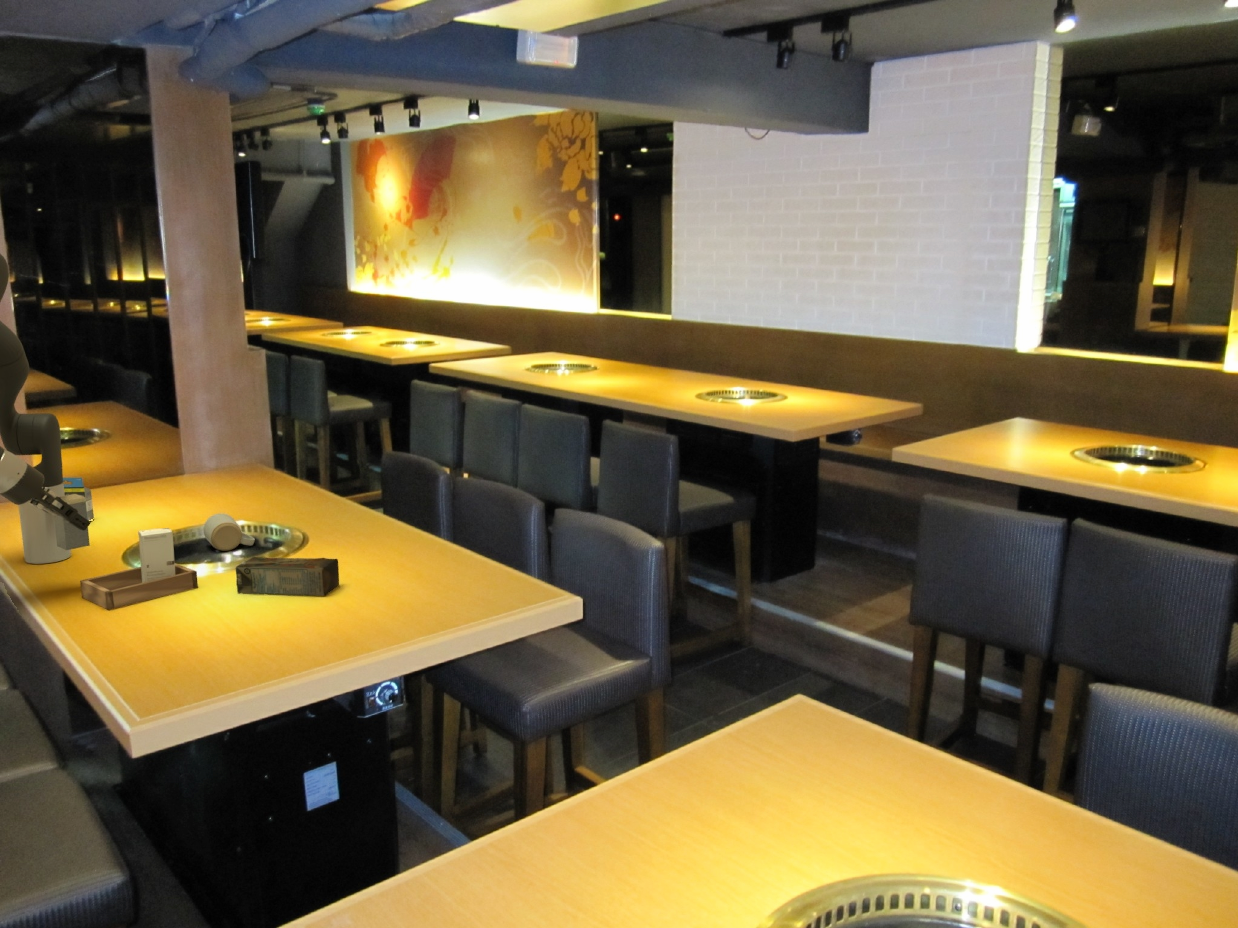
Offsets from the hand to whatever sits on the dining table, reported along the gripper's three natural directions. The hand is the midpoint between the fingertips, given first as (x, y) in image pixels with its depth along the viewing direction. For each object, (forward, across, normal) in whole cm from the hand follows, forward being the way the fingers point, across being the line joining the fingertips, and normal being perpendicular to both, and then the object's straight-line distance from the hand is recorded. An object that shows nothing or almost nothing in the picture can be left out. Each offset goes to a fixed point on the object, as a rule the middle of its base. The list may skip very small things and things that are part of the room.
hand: (81, 524), depth 205 cm
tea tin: (+2, 0, +4) cm, 5 cm away
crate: (+13, -12, +6) cm, 19 cm away
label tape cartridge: (+25, +58, -5) cm, 63 cm away
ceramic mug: (+34, +5, -15) cm, 38 cm away
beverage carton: (+28, -34, -9) cm, 44 cm away
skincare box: (+16, -12, +3) cm, 20 cm away
